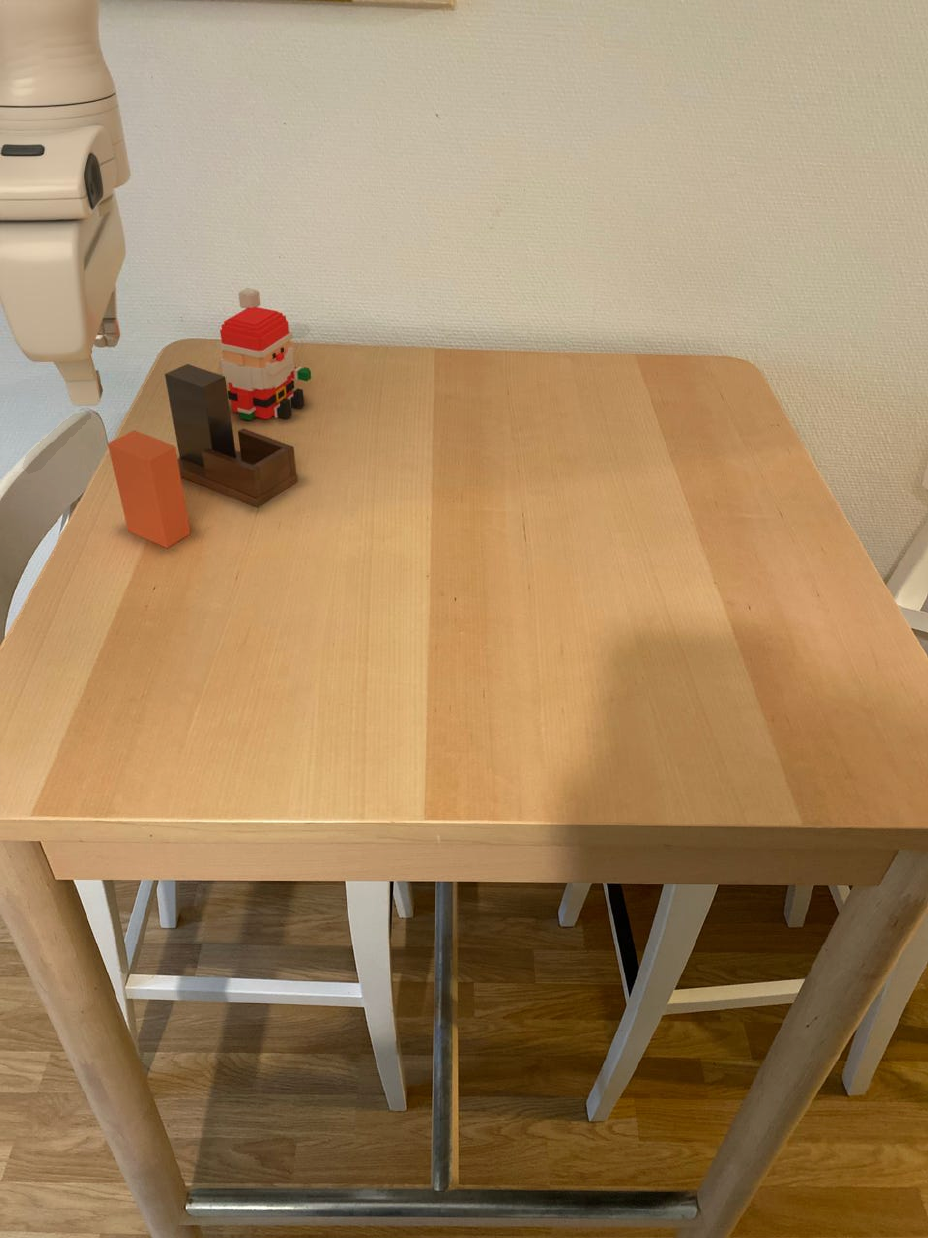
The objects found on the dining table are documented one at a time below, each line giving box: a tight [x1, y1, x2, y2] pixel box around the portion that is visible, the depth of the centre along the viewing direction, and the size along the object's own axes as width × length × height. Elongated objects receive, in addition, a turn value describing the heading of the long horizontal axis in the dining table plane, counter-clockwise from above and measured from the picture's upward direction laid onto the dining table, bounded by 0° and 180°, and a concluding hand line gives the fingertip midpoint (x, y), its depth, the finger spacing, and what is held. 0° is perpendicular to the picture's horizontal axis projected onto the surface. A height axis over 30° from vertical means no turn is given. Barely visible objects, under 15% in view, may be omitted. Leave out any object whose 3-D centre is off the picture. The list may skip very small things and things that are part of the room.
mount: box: [164, 363, 298, 508], centre depth 88 cm, size 6×12×10 cm, turn 58°
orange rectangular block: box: [107, 430, 191, 549], centre depth 80 cm, size 3×5×9 cm, turn 58°
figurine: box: [218, 287, 312, 421], centre depth 100 cm, size 8×7×12 cm
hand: (98, 370), depth 62 cm, fingers open, 8 cm apart
